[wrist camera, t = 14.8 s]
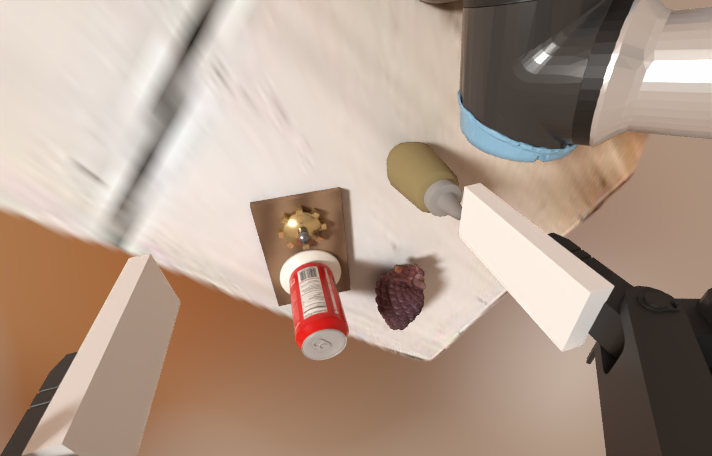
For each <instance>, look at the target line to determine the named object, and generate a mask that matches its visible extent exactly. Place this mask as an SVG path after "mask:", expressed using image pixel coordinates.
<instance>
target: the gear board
mask: <svg viewBox="0 0 712 456" xmlns="http://www.w3.org/2000/svg"><path fill="white" fill-rule="evenodd" d="M300 205H301V207H302V210H308V211H311V210H312V208H313V207H314V208H315V209H317V210H318V211H319V214H320V215H319V217H318V218H319V220H321V219H324V220H325V223H326V228H327V229H324V230H321V234H322V236H323V240H322V241H321V242H320V243H319V242H317V241H315V242H313V243H312V244H310V245H309V249H321V250H325V251H327V252H330V253H331V254H333V255H334V256H335V257H336V258H337V260H338V261H339V264H340V267H341V276H340V279H339V281H338V283H337V284H336V286H337V290H338V292H343V291H347V290H350V282H349V271H348V260H347V250H346V239H345V229H344V218H343V208H342V197H341V190H340V188H339V187H338V188H332V189H326V190H320V191H314V192H309V193H303V194H297V195H291V196H285V197H279V198H273V199H268V200H262V201H256V202H250V208H251V212H252V215H253V219H254V222H255V226H256V229H257V232H258V236H259V239H260V243H261V246H262V250H263V253H264V256H265V260H266V263H267V267H268V270H269V274H270V277H271V281H272V284H273V287H274V291H275V294H276V298H277V301H278V305H279V306H282V305H286V304H291V296H290V294H289V293H287V292H286V291H285V290H284V289H283V287H282V285H281V282H280V270H281V267H282V266H283V264H284V263H285V261H286V260H287V259H288V258H289V257H291V256H292V255H294V254H296V253H298V252H300V251H303V246H296V245H294V246H293V248H292V249H291V248H289V247H287V246H286V238H285V237H282V238H279V234H278V228H279V227H283V223H281V220H280V217H281V216H282V214H283V213H285V214H287V215H289V214H291V213H292V212H294V211H296V210H295V206H300ZM306 250H307V249H306Z"/></svg>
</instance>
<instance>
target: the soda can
mask: <svg viewBox="0 0 712 456" xmlns="http://www.w3.org/2000/svg"><path fill="white" fill-rule="evenodd" d="M289 287H290V296H291V305H292V314H293V322H294V331H295V339H296V344H297V346H298V347H299V348H300V349H301V350H302V352H303V354H304V355H305V356H306V357H307V358H309V359H313V360H324V359H328V358H331V357H333V356H335V355H337V354H339V353H340V352H341V351H342V350H343V349H344V348H345V346H346V343H347V337H348V333H349V329H348V324H347V321H346V317H345V314H344V310H343V307H342V304H341V300H340V297H339V293H338V290H337V286H336V283H335V279H334V276H333V273H332V271H331V269H330V268H329V267H328V266H327V265H325V264H322V263H319V262H309V263H305V264H303V265H300V266H299V267H297V268H296V269H295V270H294V271H293V272H292V274H291V276H290V279H289Z"/></svg>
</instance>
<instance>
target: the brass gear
mask: <svg viewBox="0 0 712 456" xmlns="http://www.w3.org/2000/svg"><path fill="white" fill-rule="evenodd" d="M295 210H296V211H294V212H292V213H291V214H289V215H287V214H285V213H283V214H282V216H281V217H280V220H281V223H283V227H279V228H278V234H279V238H282V237H285V238H286V246H287V247H289V248H291V249H292V248H293V246H294V245H296V246H303V250H306V249H309V245H310V244H312V243H313V242H315V241H317V242H319V243H320V242H321V241H322V240H323V236H322V234H321V230H324V229H327V228H326V223H325V220H324V219H321V220H319V218H318V217H319V215H320V214H319V211H318V210H317V209H315V208H314V207H313V208H312V210H311V211H308V210H302V207H301V205H300V206H295Z"/></svg>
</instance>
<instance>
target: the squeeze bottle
mask: <svg viewBox="0 0 712 456" xmlns="http://www.w3.org/2000/svg"><path fill="white" fill-rule="evenodd" d="M387 175H388V179H389V181H390V183H391V185H392V186H393V187H394V188H396V189H397V190H398V191H399V192H400V193H401V194H402V195H404V196H405V197H406V198H407V199H408V200H409V201H410V202H412V203H413V204H414V205H415V206H416V207H417V208H419V209H420V210H421V211H423V212H428V213H432V214H433V215H435V216H440V217H441V216H446V215H450V216H452V217H454V218H455V219H457V220H461V212H462V206H461V204H460V203H461V200H462V191H461V189H460V188H459V187H458V185H459V183H458V179H457V176H456V175H455V174H454V173H453V172H452V171H451V170H450V168H449V167H448V166H447V165H446V164H445V163H444V162H443V161H442V160H441V159H440V158H439V156H438V155H437V154H436V153H435V152H434V151H433V150H432V149H431V148H430V147H429V146H428V145H426V144H423V143H420V142H406V143H401V144H399V145H397V146H395V147H394V148H393V149H392V150H391V151H390V153H389V155H388V158H387Z"/></svg>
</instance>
